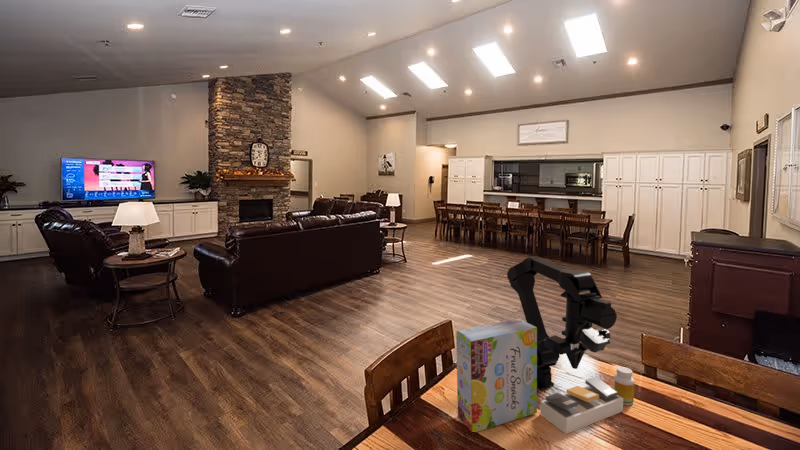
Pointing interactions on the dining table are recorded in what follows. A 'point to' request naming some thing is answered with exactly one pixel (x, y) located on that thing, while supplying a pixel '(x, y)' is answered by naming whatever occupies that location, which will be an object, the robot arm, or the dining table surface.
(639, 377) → the dining table surface
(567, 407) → the block
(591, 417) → the rocker switch box
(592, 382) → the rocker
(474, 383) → the snack box
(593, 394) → the rocker middle
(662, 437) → the dining table surface
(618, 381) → the supplement bottle
